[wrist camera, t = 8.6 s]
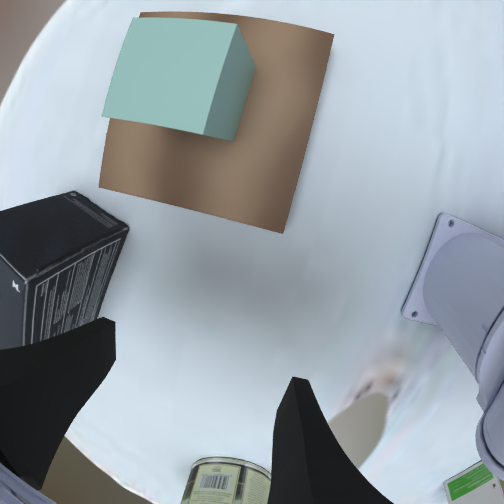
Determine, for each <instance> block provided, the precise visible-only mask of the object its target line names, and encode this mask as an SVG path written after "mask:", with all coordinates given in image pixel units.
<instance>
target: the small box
mask: <svg viewBox="0 0 504 504" xmlns="http://www.w3.org/2000/svg"><path fill="white" fill-rule="evenodd" d="M128 230H129V229H128V227H127V226H126V225H125V224H123V222H121V221H119V220H116V219H115V218H114V217H113V216H110V215H109V214H107V213H106V212H105V211H103V210H101V209H100V208H99V207H97V206H96V205H94V204H93V203H91V202H90V201H89V200H88V199H87V198H85V197H83V196H82V195H80V194H78V193H77V192H75V191H71V192H68V193H63V194H60V195H56V196H52V197H48V198H44V199H41V200H37V201H33V202H30V203H27V204H23V205H20V206H16V207H13V208H9V209H6V210H3V211H0V350H2V349H8V348H15V347H20V346H24V345H29V344H32V343H36V342H39V341H42V340H45V339H48V338H51V337H54V336H57V335H60V334H62V333H65V332H67V331H70V330H72V329H74V328H77V327H79V326H82V325H84V324H86V323H89V322H91V321H94V320H96V319H97V316H98V314H99V310H100V307H101V304H102V301H103V298H104V295H105V292H106V289H107V286H108V283H109V280H110V277H111V275H112V272H113V269H114V266H115V264H116V261H117V258H118V256H119V253H120V250H121V248H122V245H123V242H124V240H125V237H126V234H127V232H128Z"/></svg>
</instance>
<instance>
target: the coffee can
mask: <svg viewBox="0 0 504 504" xmlns="http://www.w3.org/2000/svg"><path fill="white" fill-rule="evenodd" d="M270 484H271V474H270V473H269V472H268V471H266V470H265V469H264V468H262V467H259V466H257V465H255V464H253V463H250V462H246V461H243V460H239V459H233V458H223V457H213V458H206V459H201V460H199V461H197V462H195V463H194V464H193V465H192V468H191V473H190V476H189V479H188V482H187V485H186V489H185V491H184V494H183V498H182V501H181V504H267V502H268V497H269V491H270Z"/></svg>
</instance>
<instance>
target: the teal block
mask: <svg viewBox="0 0 504 504" xmlns="http://www.w3.org/2000/svg"><path fill="white" fill-rule="evenodd" d="M255 68H256V66H255V63H254V61H253V59H252V56H251V54H250V52H249V50H248V47H247V45H246V43H245V40H244V38H243V36H242V34H241V32H240V29H239V27H238V25H237V24H233V23H226V22H218V21H209V20H198V19H183V18H133V19H132V21H131V24H130V26H129V29H128V32H127V34H126V37H125V40H124V42H123V45H122V48H121V51H120V54H119V57H118V60H117V63H116V66H115V70H114V73H113V76H112V80H111V83H110V86H109V90H108V94H107V97H106V101H105V105H104V109H103V113H102V117H108V118H115V119H122V120H128V121H135V122H141V123H147V124H152V125H158V126H163V127H168V128H173V129H178V130H183V131H188V132H193V133H197V134H202V135H206V136H211V137H215V138H220V139H224V140H228V141H232V142H234V139H235V136H236V132H237V129H238V125H239V122H240V118H241V115H242V111H243V108H244V104H245V101H246V98H247V94H248V91H249V88H250V84H251V81H252V78H253V75H254V71H255Z"/></svg>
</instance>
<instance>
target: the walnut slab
mask: <svg viewBox="0 0 504 504" xmlns="http://www.w3.org/2000/svg"><path fill="white" fill-rule="evenodd" d="M139 18H183V19H198V20H209V21H218V22H226V23H233V24H237V25H238V27H239V29H240V32H241V34H242V36H243V38H244V40H245V43H246V45H247V47H248V50H249V52H250V54H251V56H252V59H253V61H254V63H255V66H256V68H255V71H254V75H253V78H252V81H251V84H250V88H249V91H248V94H247V98H246V101H245V104H244V108H243V111H242V115H241V118H240V122H239V125H238V129H237V132H236V136H235V139H234V142H232V141H228V140H224V139H220V138H215V137H211V136H206V135H202V134H197V133H193V132H188V131H183V130H178V129H173V128H168V127H163V126H158V125H152V124H147V123H141V122H135V121H128V120H122V119H115V118H110V121H109V126H108V131H107V136H106V141H105V147H104V153H103V159H102V166H101V173H100V180H99V188H104V189H108V190H112V191H116V192H121V193H125V194H129V195H133V196H138V197H142V198H146V199H150V200H154V201H158V202H162V203H166V204H170V205H174V206H178V207H182V208H186V209H190V210H194V211H198V212H202V213H206V214H210V215H214V216H218V217H222V218H225V219H229V220H233V221H237V222H241V223H244V224H248V225H252V226H256V227H259V228H263V229H267V230H271V231H274V232H278V233H282V234H283V232H284V229H285V225H286V221H287V218H288V214H289V211H290V207H291V203H292V200H293V196H294V192H295V189H296V185H297V181H298V177H299V174H300V170H301V166H302V162H303V159H304V155H305V151H306V147H307V143H308V139H309V136H310V132H311V128H312V124H313V120H314V116H315V112H316V108H317V104H318V100H319V96H320V92H321V88H322V84H323V80H324V76H325V71H326V67H327V63H328V59H329V55H330V50H331V46H332V42H333V38H334V34H331V33H327V32H323V31H320V30H316V29H312V28H307V27H303V26H299V25H294V24H289V23H284V22H279V21H273V20H267V19H261V18H254V17H247V16H238V15H229V14H218V13H203V12H141V13H140V16H139Z"/></svg>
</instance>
